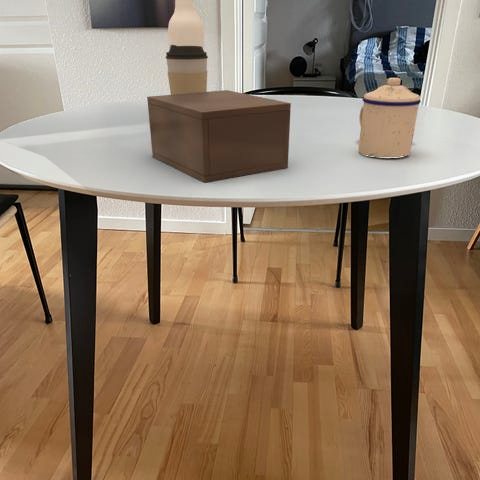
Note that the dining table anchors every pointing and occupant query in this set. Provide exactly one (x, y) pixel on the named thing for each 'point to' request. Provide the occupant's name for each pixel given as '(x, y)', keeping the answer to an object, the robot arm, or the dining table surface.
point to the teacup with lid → (388, 120)
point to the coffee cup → (187, 69)
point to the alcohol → (185, 25)
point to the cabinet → (219, 133)
